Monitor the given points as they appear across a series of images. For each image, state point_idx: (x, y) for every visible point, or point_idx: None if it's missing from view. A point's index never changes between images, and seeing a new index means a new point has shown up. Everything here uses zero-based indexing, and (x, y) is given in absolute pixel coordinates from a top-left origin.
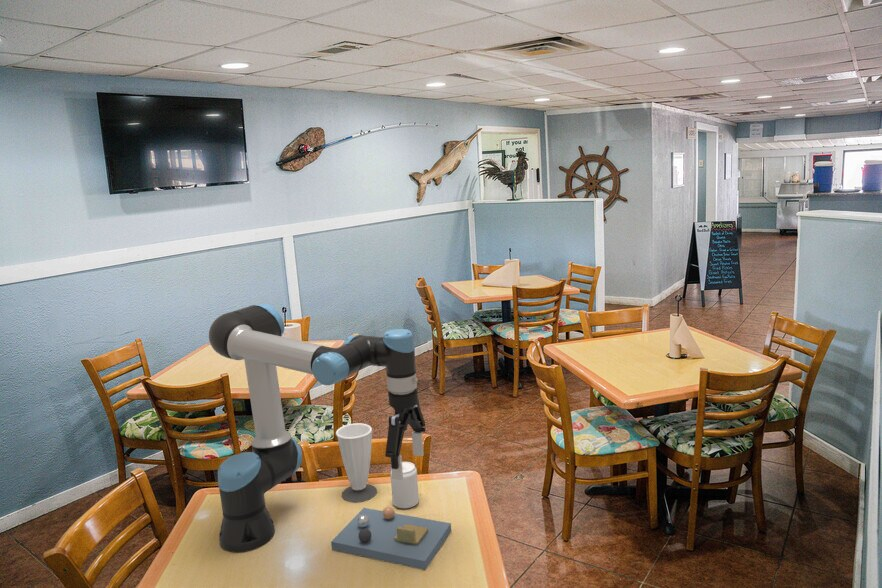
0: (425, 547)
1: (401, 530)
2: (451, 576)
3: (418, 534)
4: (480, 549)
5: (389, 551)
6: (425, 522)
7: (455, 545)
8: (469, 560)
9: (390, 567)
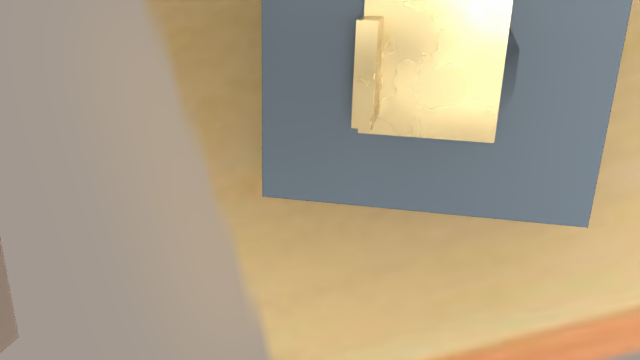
0: (356, 167)
1: (355, 51)
2: (269, 284)
3: (424, 113)
4: (460, 352)
5: (278, 8)
6: (575, 95)
7: (466, 254)
8: (379, 326)
9: (243, 30)
